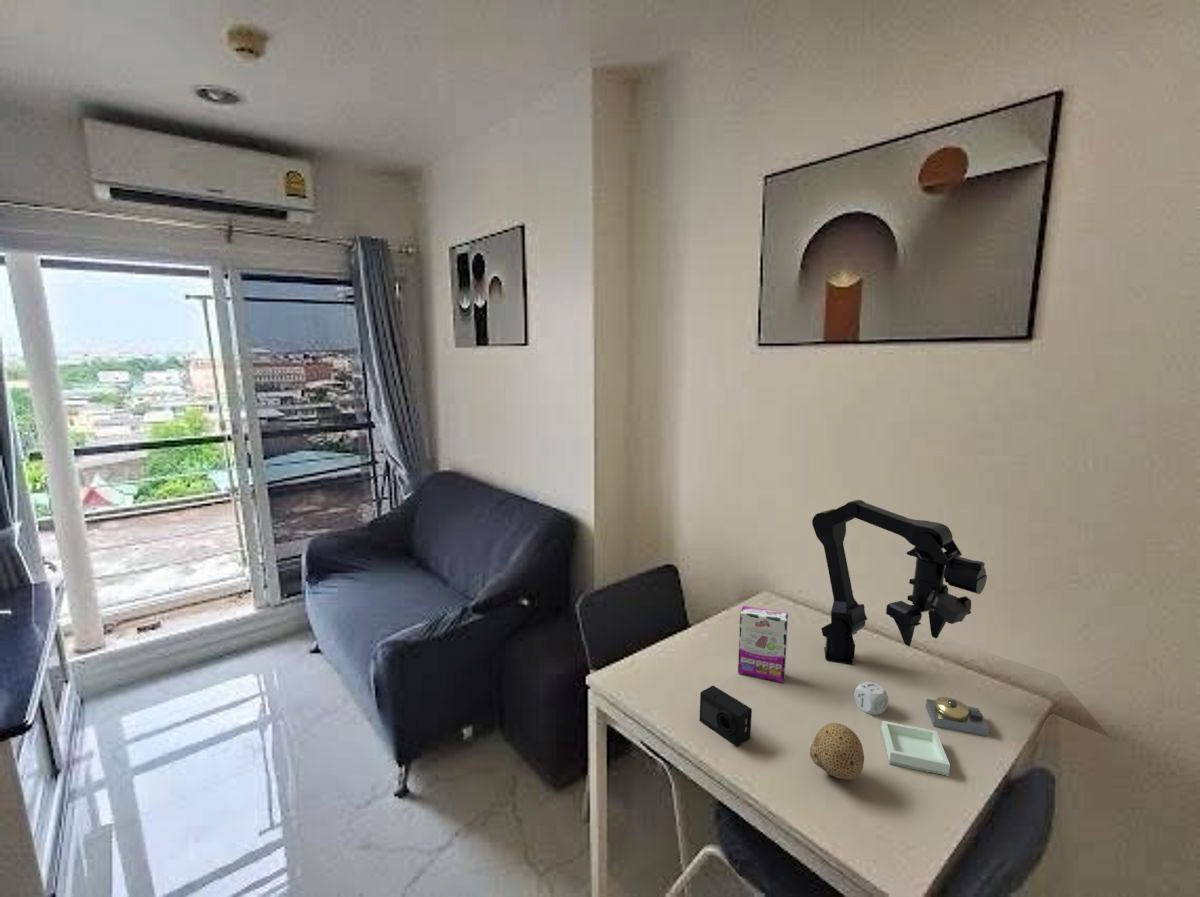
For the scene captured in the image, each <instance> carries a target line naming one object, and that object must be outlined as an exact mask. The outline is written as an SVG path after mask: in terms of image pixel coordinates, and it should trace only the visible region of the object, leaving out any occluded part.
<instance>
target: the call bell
mask: <svg viewBox="0 0 1200 897" xmlns="http://www.w3.org/2000/svg"><path fill="white" fill-rule="evenodd" d="M925 709H926V711H927V713H928V716H929V718H930V721H931V723H932V726H933V727H936V728H941V729H946V730H949V731H950V730H952V731H957V732H963V733H967V734H972V735H978V736H982V737H989V734H990V727H989V725H988V723H987V721H986V720H985V717H984V716H983V714H982V713H981V711H980V709H979V708H978V707H974V706H973V707H972V706H969V705H966V704H965V703H964V702H962V701H960V700H958V699H956V698H954V697H953V698H952V697H949V696H939V697H937V698H936V700H935V699H930V698H926V702H925Z"/></svg>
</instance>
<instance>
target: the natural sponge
mask: <svg viewBox="0 0 1200 897" xmlns="http://www.w3.org/2000/svg"><path fill="white" fill-rule="evenodd" d="M809 755H810V758H811V761H812V762H813V764H815V765H816V766H817V767H818V768H820V769H821V770H823V771H825V773H826V774H829V775H830V776H832V777H833V778H838V779H841V780H842V779H843V780H854V779H857V778H858V777H859V776H860V775H861V774H862V773H863V771H864V762H865V754H864V749H863V745H862V742H861V740H860V738H859V736H858V735H856V733H855V732H854V731H853V730H852V729H851V728H850V727H848V726H847V725H844V724H841V723H838V722H830V723H827V724H825V725H823V727H821V728H820V729H819V730H818V731H817V733H816V735H815V737H814V739H813V741H812V743H811V746H810V748H809Z"/></svg>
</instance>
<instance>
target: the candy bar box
mask: <svg viewBox="0 0 1200 897" xmlns="http://www.w3.org/2000/svg"><path fill="white" fill-rule="evenodd" d="M788 619H789V613H788V612H786V611H779V610H773V609H767V608H761V607H754V606H748V605H742V608H741V611H740V614H739V639H738V640H739V641H738V659H737V660H738V662H737V663H738V664H737V673H738V674H739V675H743V676H746V677H747V676H748V677H751V678H752V677H753V678H756V679H758V678H759V679H762V680H767V681H773V682H778V683H783V684H784V682H785V676H786V660H787V645H788V644H787V642H788V621H789V620H788Z"/></svg>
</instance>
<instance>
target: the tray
mask: <svg viewBox="0 0 1200 897" xmlns="http://www.w3.org/2000/svg"><path fill="white" fill-rule="evenodd" d="M880 733H881V736H882V740H883V745H884V748H885V752H886V756H887V759H888V764H890V765H893V766H898V767H902V768H907V769H911V768H912V769H911V770H915V771H920V770H921V771H920V772H924V771H928V772H927V773H929V772H933V773H932V774H934V773H938V774H942V775H941V776H943V775H948V776H949V775H950V768H951V765H950V761H949V759H948V755H947V754H946V751H945V749H944V747H943V744H942V742H941V740H940V737H939V734H938V732H937V730H933V729H928V728H922V727H917V726H913V725H907V724H903V723H902V724H901V723H897V722H891V721H886V720H882V721H881V727H880ZM938 774H937V775H938Z"/></svg>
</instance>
